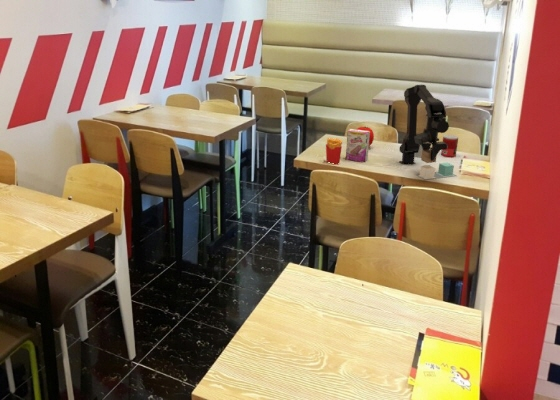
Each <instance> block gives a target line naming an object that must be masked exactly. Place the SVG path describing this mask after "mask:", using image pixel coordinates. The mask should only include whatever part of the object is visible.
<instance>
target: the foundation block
mask: <svg viewBox="0 0 560 400" xmlns="http://www.w3.org/2000/svg"><path fill="white" fill-rule="evenodd" d="M435 172H436V167H434V166H433V165H431V164H425V165H420V169H419V174H420V176H422V177H423V178H425V179H427V178H434V174H435Z"/></svg>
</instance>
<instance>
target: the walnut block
mask: <svg viewBox="0 0 560 400" xmlns="http://www.w3.org/2000/svg"><path fill="white" fill-rule="evenodd" d="M437 155H438V154H437ZM437 155H436V157H435V159H434V160H433V161H431V150H430V149H429V150H422V156H421V158H420V161H422V162H424V163H426V164H431V163H432V164H433V163H436V162H437Z"/></svg>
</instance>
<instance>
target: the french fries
mask: <svg viewBox="0 0 560 400" xmlns="http://www.w3.org/2000/svg"><path fill="white" fill-rule="evenodd" d="M342 144H343V141H342V140H341V139H339V138H333V137H331V138H327V139H326V144H325V153H326V163H327V162H330V163H334V164H333V165H339V164H340V161H341V155H342ZM330 163H329V164H330ZM338 163H339V164H338Z"/></svg>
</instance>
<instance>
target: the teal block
mask: <svg viewBox="0 0 560 400" xmlns="http://www.w3.org/2000/svg"><path fill="white" fill-rule="evenodd" d="M454 167H455V165H454V164H451V163H450V162H442V163H439V164H438V169H437V172H438V173H439V174H441V175H443V176H449V175H453V174H454Z"/></svg>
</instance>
